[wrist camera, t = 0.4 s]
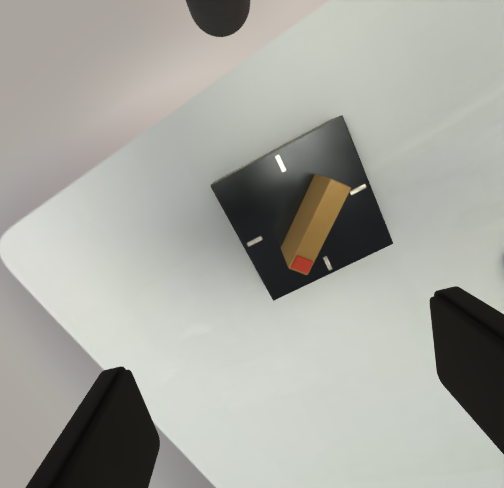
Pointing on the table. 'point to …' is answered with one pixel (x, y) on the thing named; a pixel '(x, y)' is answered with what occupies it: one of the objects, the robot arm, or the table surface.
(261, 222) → the dial pointer knob base
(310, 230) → the dial pointer knob
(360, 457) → the table surface
